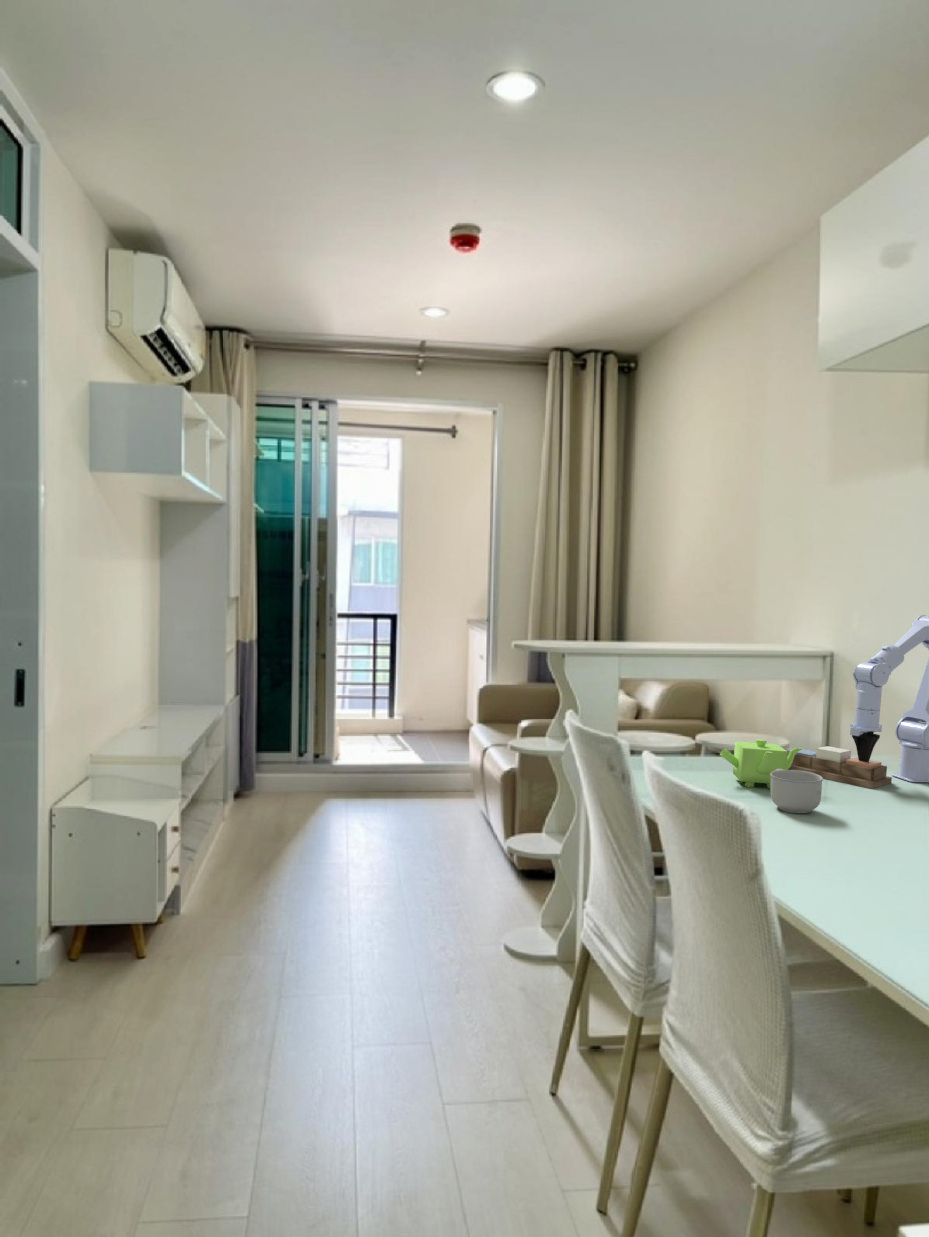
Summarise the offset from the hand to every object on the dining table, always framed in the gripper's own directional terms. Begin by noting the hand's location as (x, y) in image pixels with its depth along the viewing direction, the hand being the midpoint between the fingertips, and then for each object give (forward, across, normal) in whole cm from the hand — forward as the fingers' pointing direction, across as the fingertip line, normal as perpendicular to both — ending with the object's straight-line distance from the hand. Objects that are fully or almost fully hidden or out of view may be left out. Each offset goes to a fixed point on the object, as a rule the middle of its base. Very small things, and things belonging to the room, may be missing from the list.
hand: (863, 761), depth 227 cm
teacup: (+6, +44, +3) cm, 45 cm away
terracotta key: (+3, 0, 0) cm, 3 cm away
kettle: (+6, +30, -12) cm, 33 cm away
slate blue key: (+4, 0, -16) cm, 16 cm away
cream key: (+2, 0, -8) cm, 8 cm away
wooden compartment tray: (+5, 0, -8) cm, 10 cm away
